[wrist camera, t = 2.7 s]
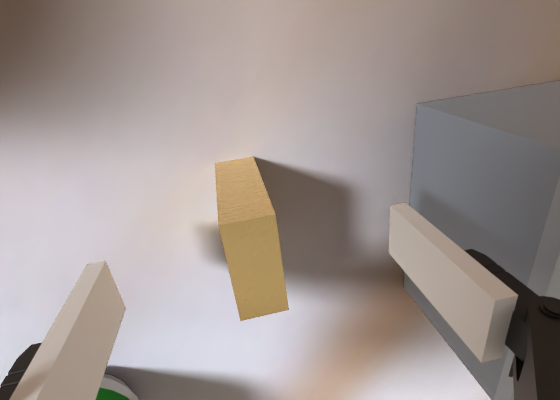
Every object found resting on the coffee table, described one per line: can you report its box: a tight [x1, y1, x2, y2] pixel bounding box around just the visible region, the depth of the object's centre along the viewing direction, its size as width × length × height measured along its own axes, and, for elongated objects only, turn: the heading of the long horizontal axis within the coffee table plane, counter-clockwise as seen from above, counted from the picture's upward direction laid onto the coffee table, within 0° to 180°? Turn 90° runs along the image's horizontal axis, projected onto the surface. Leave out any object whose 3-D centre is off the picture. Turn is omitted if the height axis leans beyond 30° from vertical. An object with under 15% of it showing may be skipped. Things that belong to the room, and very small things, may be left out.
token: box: [215, 157, 289, 321], centre depth 17 cm, size 5×2×7 cm, turn 6°
